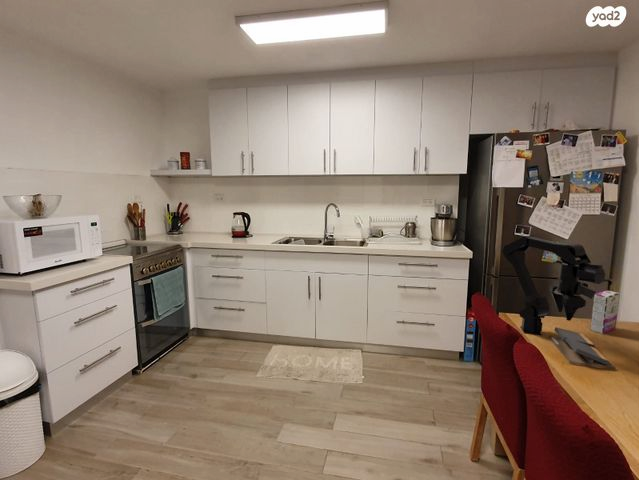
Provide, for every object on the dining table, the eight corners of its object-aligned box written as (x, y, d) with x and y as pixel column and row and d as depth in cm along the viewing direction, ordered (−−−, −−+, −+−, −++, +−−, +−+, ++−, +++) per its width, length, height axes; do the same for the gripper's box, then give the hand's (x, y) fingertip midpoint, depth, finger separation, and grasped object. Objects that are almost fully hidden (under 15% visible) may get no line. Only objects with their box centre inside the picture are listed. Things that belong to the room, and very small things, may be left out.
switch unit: (569, 363, 117) (569, 357, 116) (548, 337, 137) (549, 332, 137) (615, 370, 112) (615, 363, 112) (586, 342, 133) (587, 336, 133)
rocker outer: (575, 351, 116) (577, 348, 116) (564, 339, 125) (566, 336, 125) (607, 365, 113) (609, 361, 113) (594, 351, 123) (596, 348, 122)
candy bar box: (601, 325, 150) (606, 289, 147) (615, 329, 145) (620, 293, 143) (588, 330, 145) (593, 293, 142) (602, 334, 140) (608, 296, 138)
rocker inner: (563, 340, 126) (564, 337, 126) (554, 330, 136) (555, 326, 135) (594, 348, 123) (595, 345, 123) (582, 337, 133) (584, 334, 133)
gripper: (606, 285, 116) (600, 328, 118) (584, 272, 133) (579, 310, 136) (568, 282, 119) (563, 324, 122) (551, 270, 137) (547, 306, 139)
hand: (564, 316), depth 129 cm, fingers open, 9 cm apart
